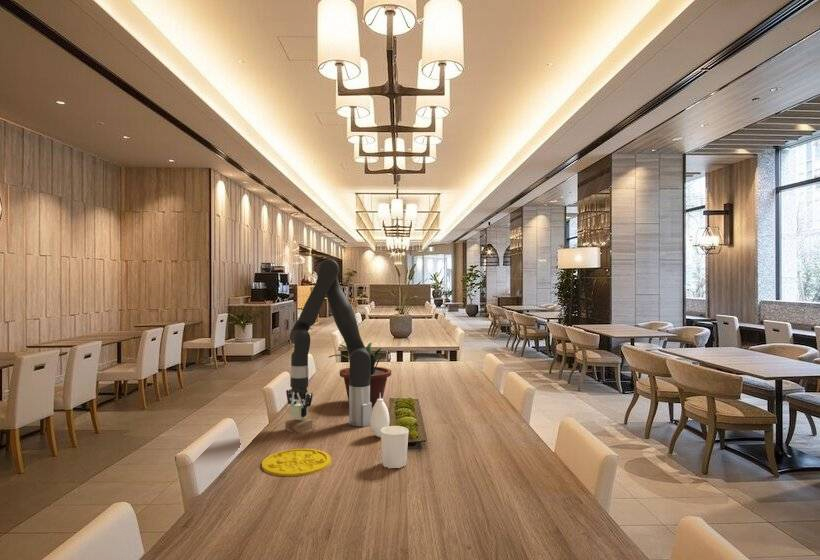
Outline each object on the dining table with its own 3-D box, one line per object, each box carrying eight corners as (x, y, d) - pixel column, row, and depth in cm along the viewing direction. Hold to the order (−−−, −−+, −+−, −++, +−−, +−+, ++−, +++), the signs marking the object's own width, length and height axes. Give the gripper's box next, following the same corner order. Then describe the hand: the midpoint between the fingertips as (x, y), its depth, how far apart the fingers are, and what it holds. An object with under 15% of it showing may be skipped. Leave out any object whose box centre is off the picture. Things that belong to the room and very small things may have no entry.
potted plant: (388, 414, 231) (389, 351, 231) (321, 413, 232) (322, 350, 232) (392, 396, 266) (393, 342, 266) (334, 395, 266) (334, 341, 266)
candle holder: (374, 466, 166) (375, 431, 166) (389, 457, 175) (389, 424, 175) (399, 472, 162) (400, 436, 162) (413, 462, 170) (413, 428, 170)
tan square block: (312, 429, 208) (312, 420, 208) (299, 434, 201) (299, 424, 201) (298, 426, 212) (299, 417, 212) (285, 431, 205) (285, 421, 205)
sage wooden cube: (307, 416, 207) (307, 405, 207) (298, 419, 203) (298, 407, 203) (299, 414, 210) (299, 403, 210) (290, 417, 206) (290, 405, 206)
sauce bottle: (386, 440, 193) (387, 395, 193) (367, 438, 195) (368, 394, 195) (391, 434, 201) (391, 391, 201) (373, 433, 203) (373, 390, 203)
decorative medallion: (260, 481, 155) (260, 474, 155) (262, 455, 177) (262, 449, 177) (334, 473, 161) (334, 467, 161) (327, 449, 184) (327, 444, 184)
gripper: (317, 376, 206) (317, 416, 206) (294, 372, 214) (293, 410, 214) (305, 379, 200) (304, 420, 200) (281, 375, 208) (280, 414, 208)
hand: (298, 415), depth 207 cm, fingers closed on sage wooden cube, 5 cm apart
